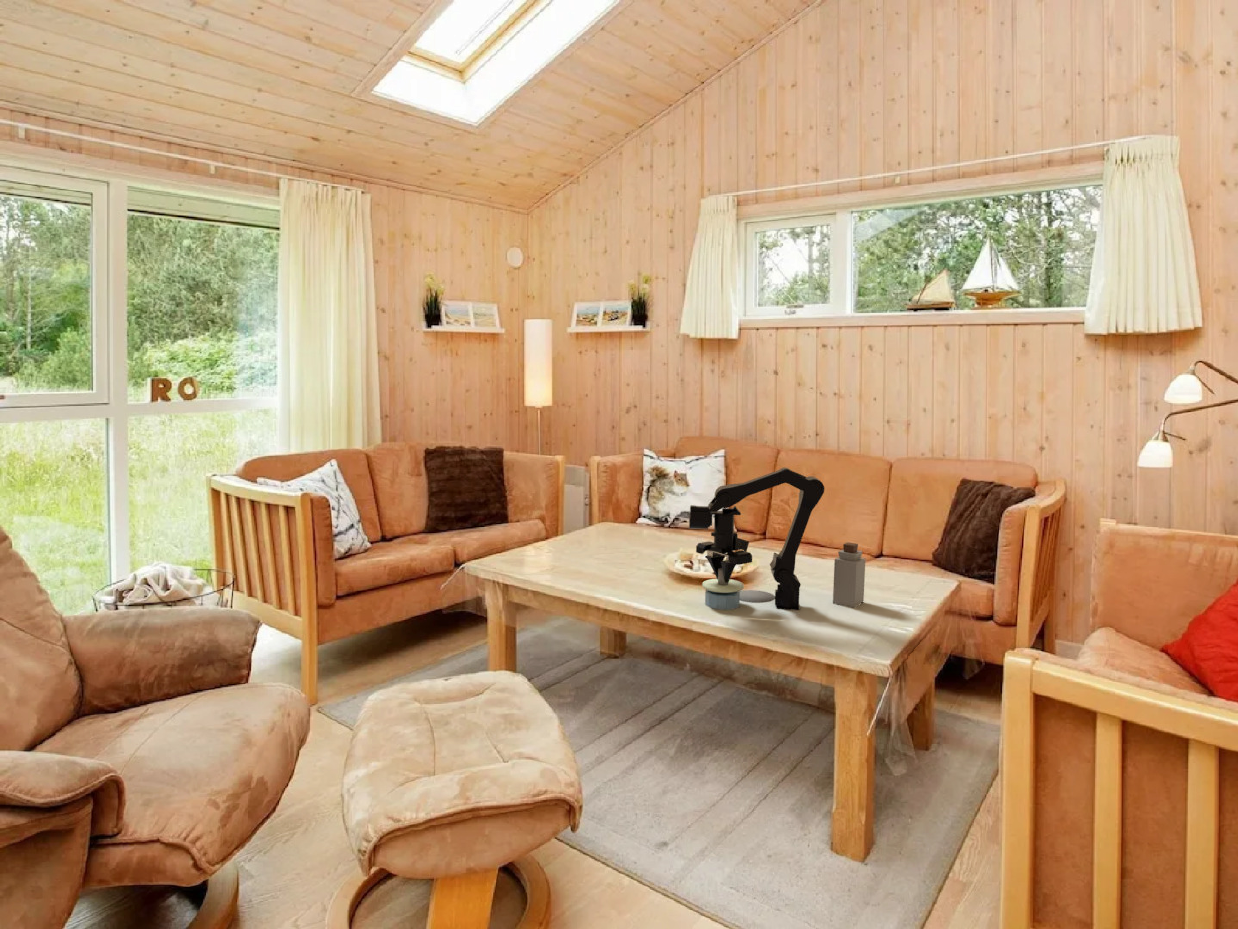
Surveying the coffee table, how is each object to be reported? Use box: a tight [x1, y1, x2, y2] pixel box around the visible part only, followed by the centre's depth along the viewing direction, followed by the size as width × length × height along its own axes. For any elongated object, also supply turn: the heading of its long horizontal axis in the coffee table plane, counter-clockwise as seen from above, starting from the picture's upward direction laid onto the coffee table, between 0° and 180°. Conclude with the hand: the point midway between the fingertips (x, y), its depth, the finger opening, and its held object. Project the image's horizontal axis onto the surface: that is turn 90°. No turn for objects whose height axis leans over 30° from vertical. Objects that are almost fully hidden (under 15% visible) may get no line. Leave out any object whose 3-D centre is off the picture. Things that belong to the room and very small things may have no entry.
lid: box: [702, 568, 745, 593], centre depth 227 cm, size 12×12×5 cm
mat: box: [740, 589, 775, 604], centre depth 236 cm, size 13×13×1 cm
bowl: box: [704, 589, 741, 610], centre depth 228 cm, size 10×10×4 cm
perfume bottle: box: [832, 542, 866, 608], centre depth 230 cm, size 7×7×18 cm
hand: (723, 581), depth 227 cm, fingers closed on lid, 3 cm apart
